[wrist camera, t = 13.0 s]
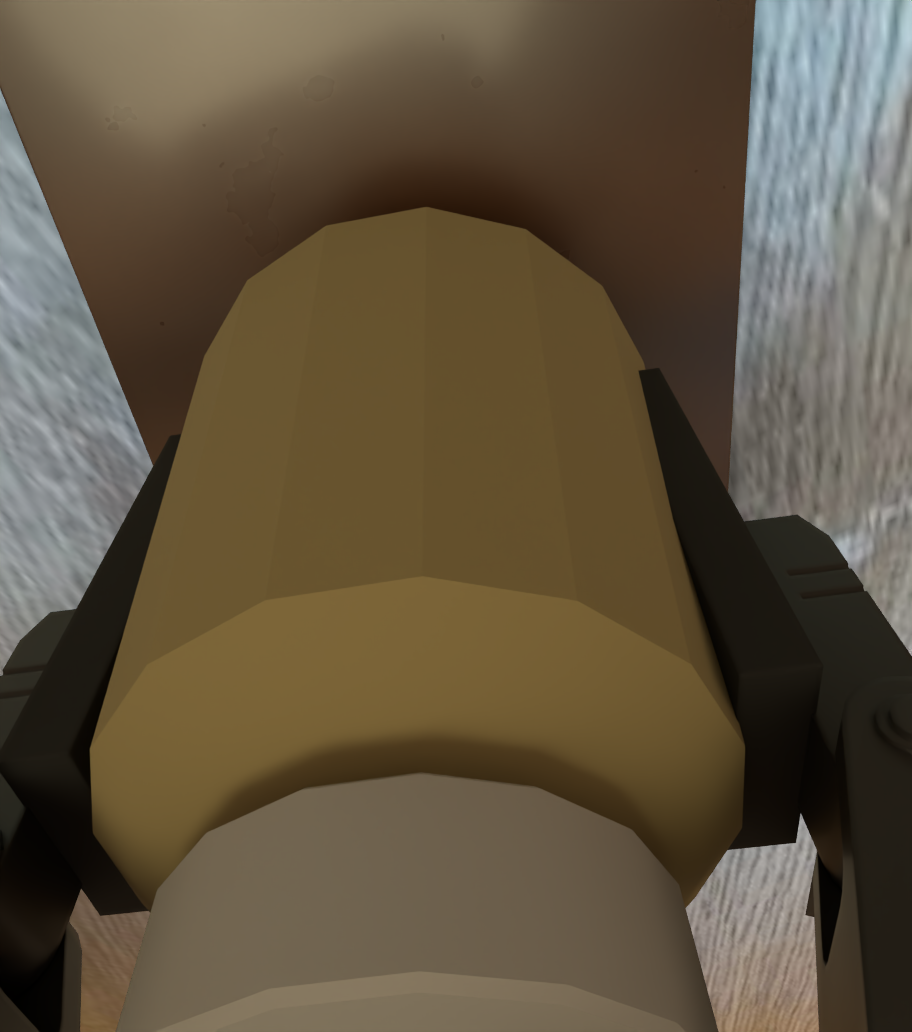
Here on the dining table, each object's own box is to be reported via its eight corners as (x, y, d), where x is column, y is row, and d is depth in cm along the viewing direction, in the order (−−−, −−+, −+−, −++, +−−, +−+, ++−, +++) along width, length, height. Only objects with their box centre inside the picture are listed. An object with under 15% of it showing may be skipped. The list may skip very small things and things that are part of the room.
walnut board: (710, 581, 24) (721, 608, 23) (242, 640, 25) (234, 668, 24) (746, -237, 14) (770, -252, 13) (-43, -96, 15) (-78, -99, 14)
